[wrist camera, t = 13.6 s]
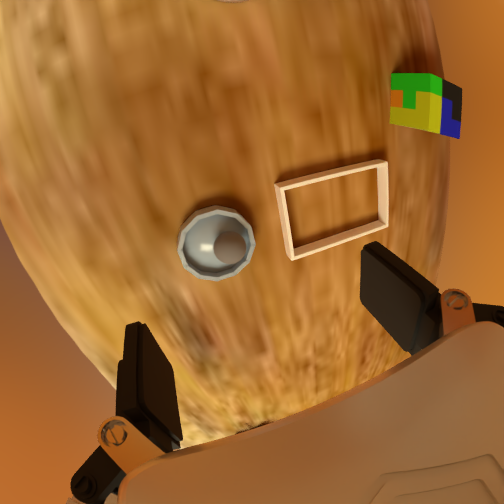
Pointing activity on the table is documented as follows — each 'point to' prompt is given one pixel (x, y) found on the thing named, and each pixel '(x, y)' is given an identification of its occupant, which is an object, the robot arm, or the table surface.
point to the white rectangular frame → (344, 236)
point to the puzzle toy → (426, 103)
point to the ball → (229, 247)
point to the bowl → (212, 242)
